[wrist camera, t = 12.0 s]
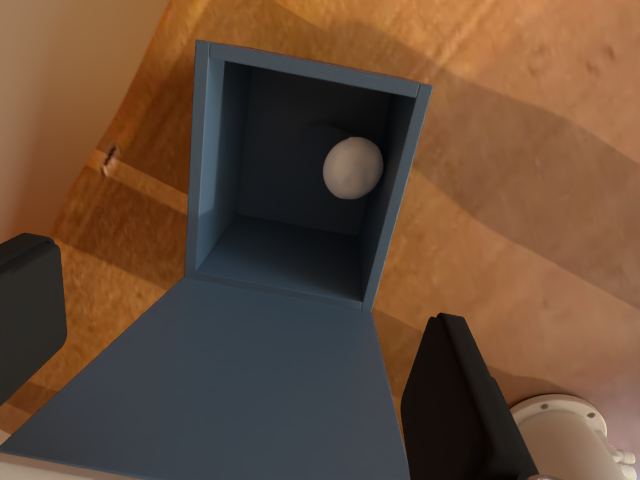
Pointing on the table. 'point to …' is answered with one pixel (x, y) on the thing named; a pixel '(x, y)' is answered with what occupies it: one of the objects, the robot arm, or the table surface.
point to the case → (292, 174)
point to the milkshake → (343, 160)
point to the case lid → (228, 395)
